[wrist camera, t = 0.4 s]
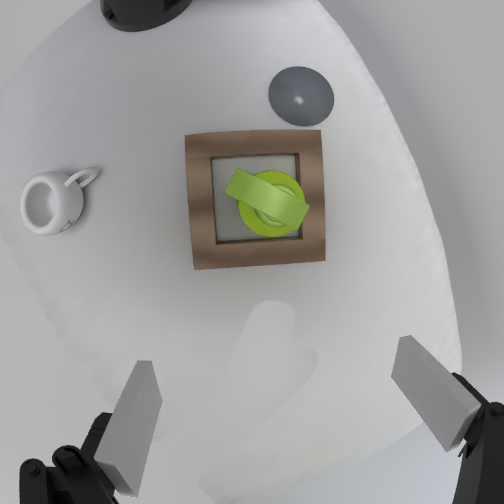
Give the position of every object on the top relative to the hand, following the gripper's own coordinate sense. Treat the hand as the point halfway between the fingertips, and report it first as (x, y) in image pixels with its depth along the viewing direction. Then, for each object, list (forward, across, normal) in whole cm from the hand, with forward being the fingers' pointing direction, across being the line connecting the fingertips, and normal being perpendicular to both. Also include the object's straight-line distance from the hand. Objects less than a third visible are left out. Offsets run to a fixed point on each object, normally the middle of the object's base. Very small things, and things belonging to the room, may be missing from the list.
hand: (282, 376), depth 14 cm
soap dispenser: (+27, +1, +7) cm, 28 cm away
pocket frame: (+27, +1, +7) cm, 28 cm away
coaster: (+27, +8, +22) cm, 35 cm away
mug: (+27, -25, +10) cm, 38 cm away
